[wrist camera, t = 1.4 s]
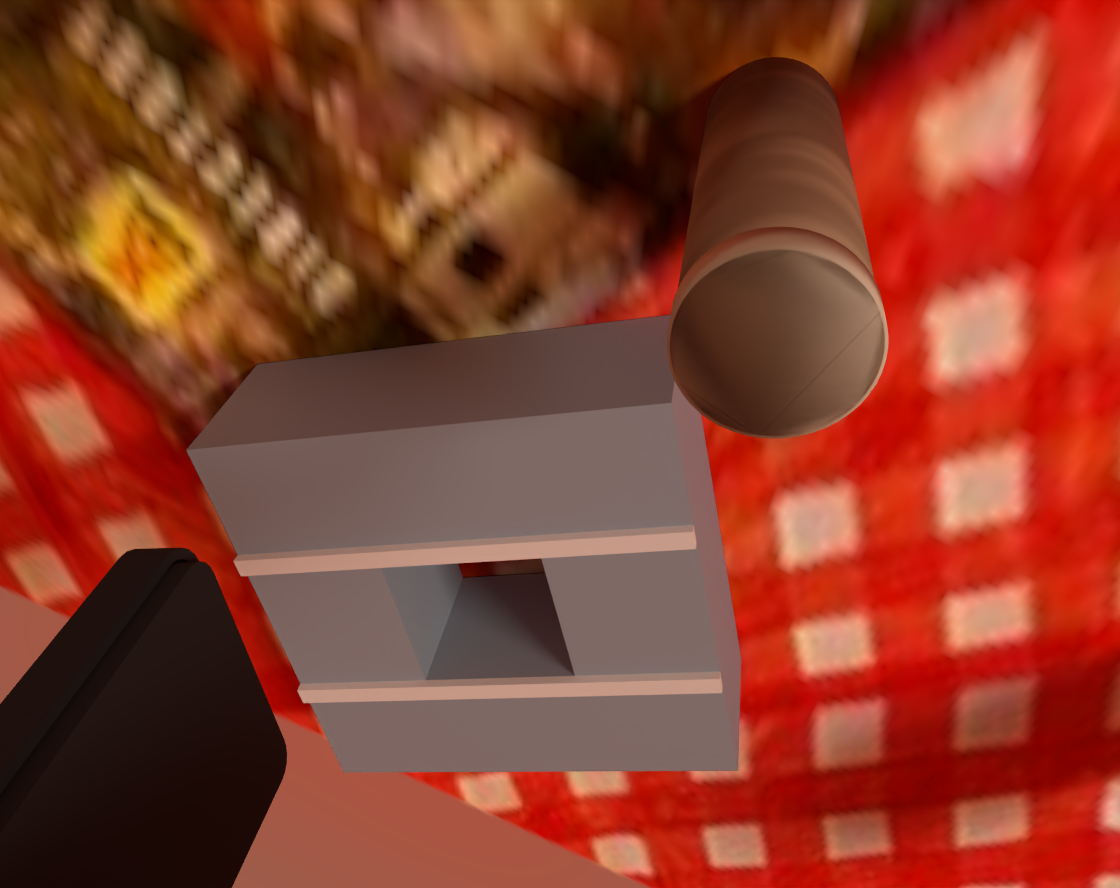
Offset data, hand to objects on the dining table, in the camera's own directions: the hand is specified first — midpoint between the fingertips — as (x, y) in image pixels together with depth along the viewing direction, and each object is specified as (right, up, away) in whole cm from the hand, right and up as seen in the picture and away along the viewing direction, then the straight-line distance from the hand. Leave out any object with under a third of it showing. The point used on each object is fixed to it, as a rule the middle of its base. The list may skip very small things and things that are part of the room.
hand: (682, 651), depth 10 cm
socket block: (-3, -1, +25) cm, 25 cm away
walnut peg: (+4, +10, +16) cm, 20 cm away
